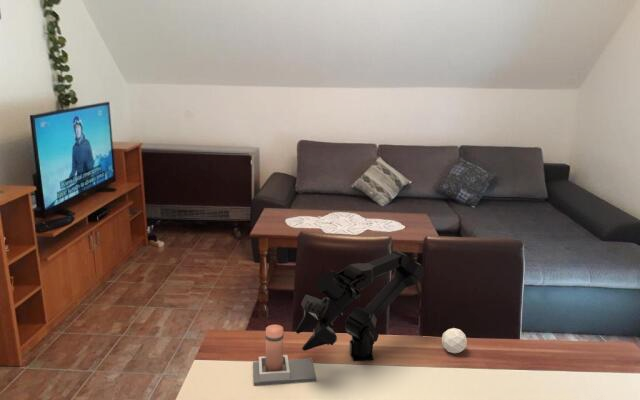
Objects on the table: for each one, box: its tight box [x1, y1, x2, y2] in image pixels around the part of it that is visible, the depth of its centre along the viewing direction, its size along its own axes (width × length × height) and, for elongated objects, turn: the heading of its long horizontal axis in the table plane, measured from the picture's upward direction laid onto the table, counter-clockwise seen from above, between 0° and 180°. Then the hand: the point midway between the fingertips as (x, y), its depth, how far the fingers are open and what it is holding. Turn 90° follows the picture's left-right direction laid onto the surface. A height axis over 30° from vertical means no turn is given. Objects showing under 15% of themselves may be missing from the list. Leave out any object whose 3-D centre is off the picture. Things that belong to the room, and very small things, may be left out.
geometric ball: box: [441, 327, 468, 354], centre depth 162 cm, size 8×8×8 cm
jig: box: [252, 354, 317, 387], centre depth 149 cm, size 18×10×4 cm, turn 98°
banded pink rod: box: [264, 324, 285, 372], centre depth 147 cm, size 5×5×14 cm
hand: (299, 341), depth 149 cm, fingers open, 9 cm apart
